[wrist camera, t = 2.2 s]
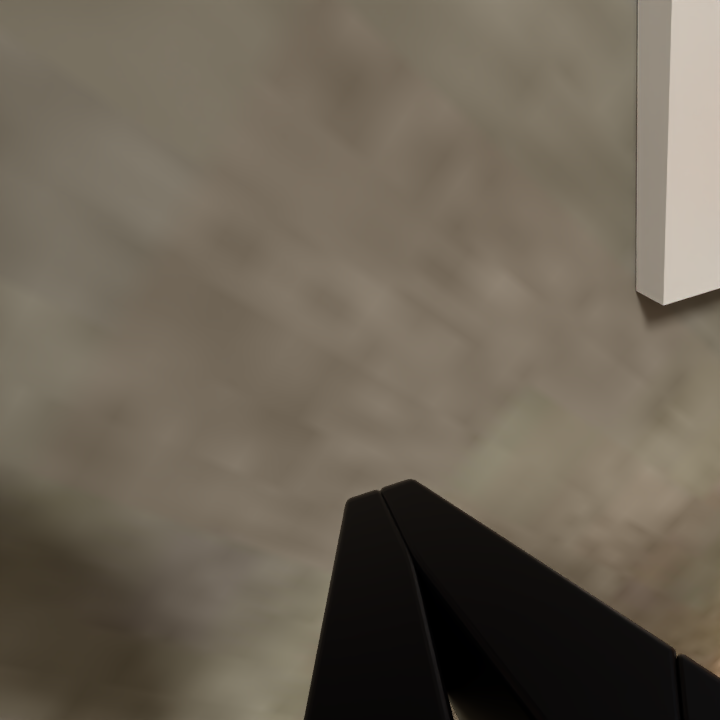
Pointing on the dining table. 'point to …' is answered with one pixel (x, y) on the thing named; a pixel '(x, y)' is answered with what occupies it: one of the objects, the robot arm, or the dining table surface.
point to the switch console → (678, 149)
